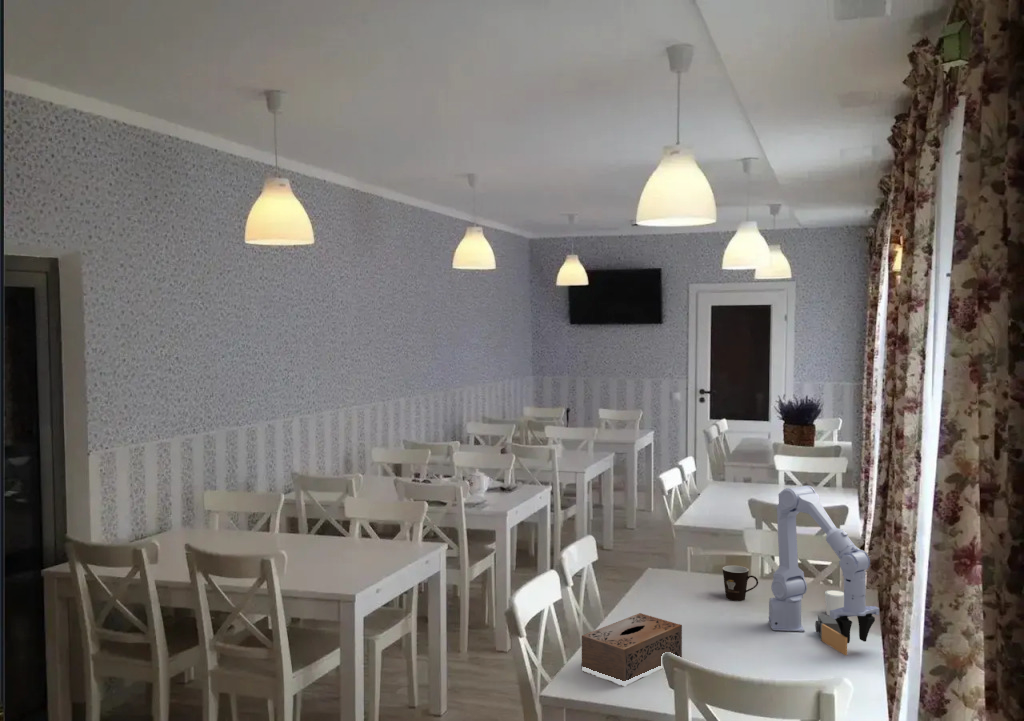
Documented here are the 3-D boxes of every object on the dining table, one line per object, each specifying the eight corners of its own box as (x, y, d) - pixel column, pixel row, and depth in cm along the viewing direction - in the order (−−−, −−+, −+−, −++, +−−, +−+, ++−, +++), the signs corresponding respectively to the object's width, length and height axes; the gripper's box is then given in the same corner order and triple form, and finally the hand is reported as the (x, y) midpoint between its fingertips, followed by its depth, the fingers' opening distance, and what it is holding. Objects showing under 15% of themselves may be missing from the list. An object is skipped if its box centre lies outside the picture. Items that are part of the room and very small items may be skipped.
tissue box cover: (640, 647, 252) (640, 613, 252) (681, 660, 242) (681, 625, 241) (581, 672, 234) (581, 635, 234) (624, 688, 224) (624, 649, 223)
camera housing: (818, 639, 256) (819, 621, 256) (813, 631, 263) (814, 613, 263) (847, 641, 255) (848, 622, 255) (842, 632, 262) (842, 614, 262)
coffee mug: (717, 596, 298) (717, 567, 297) (737, 592, 301) (737, 564, 301) (739, 606, 287) (739, 576, 287) (760, 602, 291) (760, 572, 291)
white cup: (843, 611, 282) (843, 589, 281) (849, 618, 275) (850, 596, 275) (821, 610, 282) (822, 589, 282) (827, 617, 276) (827, 595, 275)
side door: (820, 640, 256) (820, 623, 256) (822, 639, 256) (822, 623, 256) (844, 655, 244) (845, 637, 244) (847, 655, 244) (847, 637, 244)
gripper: (840, 600, 241) (840, 648, 241) (886, 595, 244) (886, 643, 244) (825, 592, 247) (825, 639, 248) (870, 588, 251) (870, 635, 251)
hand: (854, 641), depth 247 cm, fingers open, 5 cm apart
